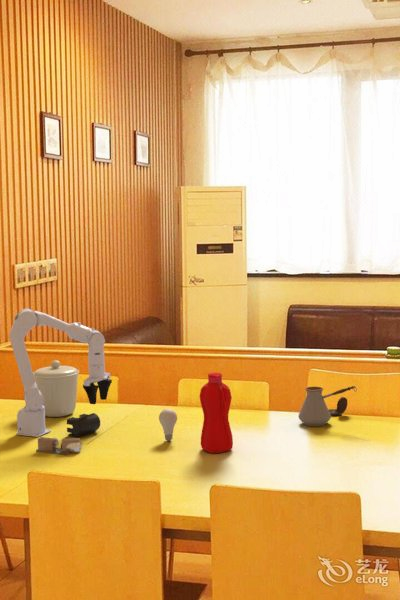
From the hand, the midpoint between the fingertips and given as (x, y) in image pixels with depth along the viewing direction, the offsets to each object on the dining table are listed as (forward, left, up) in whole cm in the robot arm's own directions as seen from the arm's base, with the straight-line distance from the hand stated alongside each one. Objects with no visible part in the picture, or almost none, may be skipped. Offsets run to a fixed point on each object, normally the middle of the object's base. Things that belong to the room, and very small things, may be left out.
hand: (98, 401), depth 288 cm
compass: (+74, +44, -10) cm, 87 cm away
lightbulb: (+32, -7, -10) cm, 34 cm away
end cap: (0, -10, -10) cm, 14 cm away
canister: (-26, +11, -10) cm, 30 cm away
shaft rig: (+4, -30, -9) cm, 31 cm away
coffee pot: (+76, +30, -10) cm, 82 cm away
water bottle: (+52, -11, -10) cm, 54 cm away
